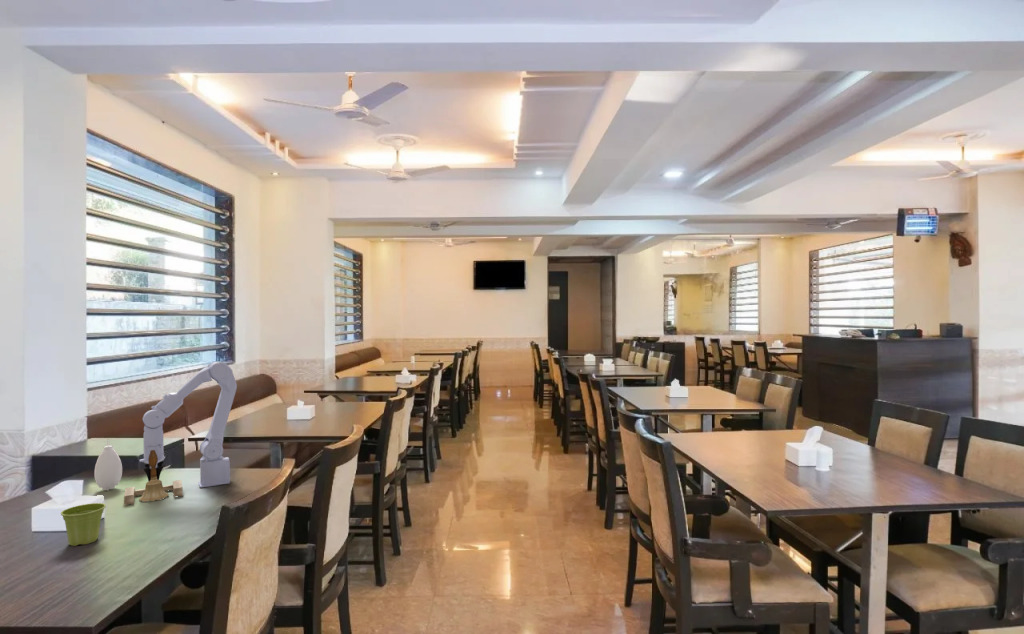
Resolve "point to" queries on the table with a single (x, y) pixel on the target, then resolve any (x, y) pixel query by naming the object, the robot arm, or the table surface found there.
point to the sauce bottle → (108, 468)
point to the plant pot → (83, 523)
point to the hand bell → (153, 482)
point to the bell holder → (131, 491)
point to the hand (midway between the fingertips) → (153, 485)
